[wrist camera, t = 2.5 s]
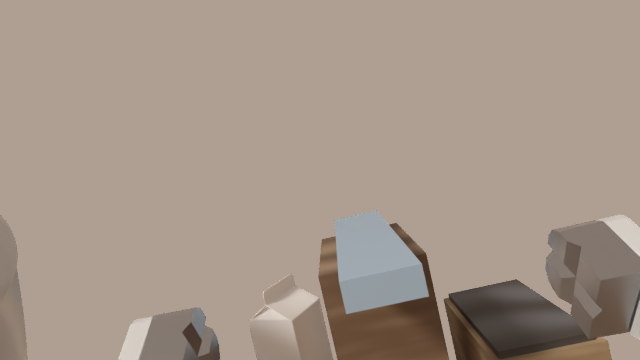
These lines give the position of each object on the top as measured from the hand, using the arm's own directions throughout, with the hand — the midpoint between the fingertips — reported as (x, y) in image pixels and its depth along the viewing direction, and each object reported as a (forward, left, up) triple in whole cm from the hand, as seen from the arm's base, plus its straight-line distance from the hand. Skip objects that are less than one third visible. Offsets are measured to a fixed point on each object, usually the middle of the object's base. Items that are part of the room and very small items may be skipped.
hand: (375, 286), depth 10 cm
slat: (-11, +21, -5) cm, 24 cm away
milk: (-27, +28, -31) cm, 50 cm away
